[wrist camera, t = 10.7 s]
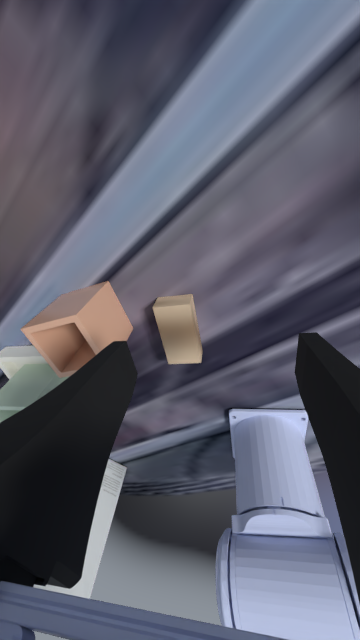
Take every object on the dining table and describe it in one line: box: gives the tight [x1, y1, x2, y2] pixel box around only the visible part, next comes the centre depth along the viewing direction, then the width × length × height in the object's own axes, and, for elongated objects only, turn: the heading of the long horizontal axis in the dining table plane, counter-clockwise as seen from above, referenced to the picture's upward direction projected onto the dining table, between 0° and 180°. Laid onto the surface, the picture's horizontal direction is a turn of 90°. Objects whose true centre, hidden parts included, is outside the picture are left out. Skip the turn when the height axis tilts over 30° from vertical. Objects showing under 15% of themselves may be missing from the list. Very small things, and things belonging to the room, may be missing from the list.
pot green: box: [0, 364, 70, 422], centre depth 26 cm, size 5×5×6 cm
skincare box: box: [33, 459, 127, 599], centre depth 32 cm, size 8×7×16 cm
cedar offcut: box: [153, 294, 202, 364], centre depth 22 cm, size 6×3×2 cm, turn 11°
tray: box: [0, 346, 48, 380], centre depth 28 cm, size 9×9×2 cm
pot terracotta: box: [21, 281, 133, 378], centre depth 20 cm, size 5×5×6 cm
